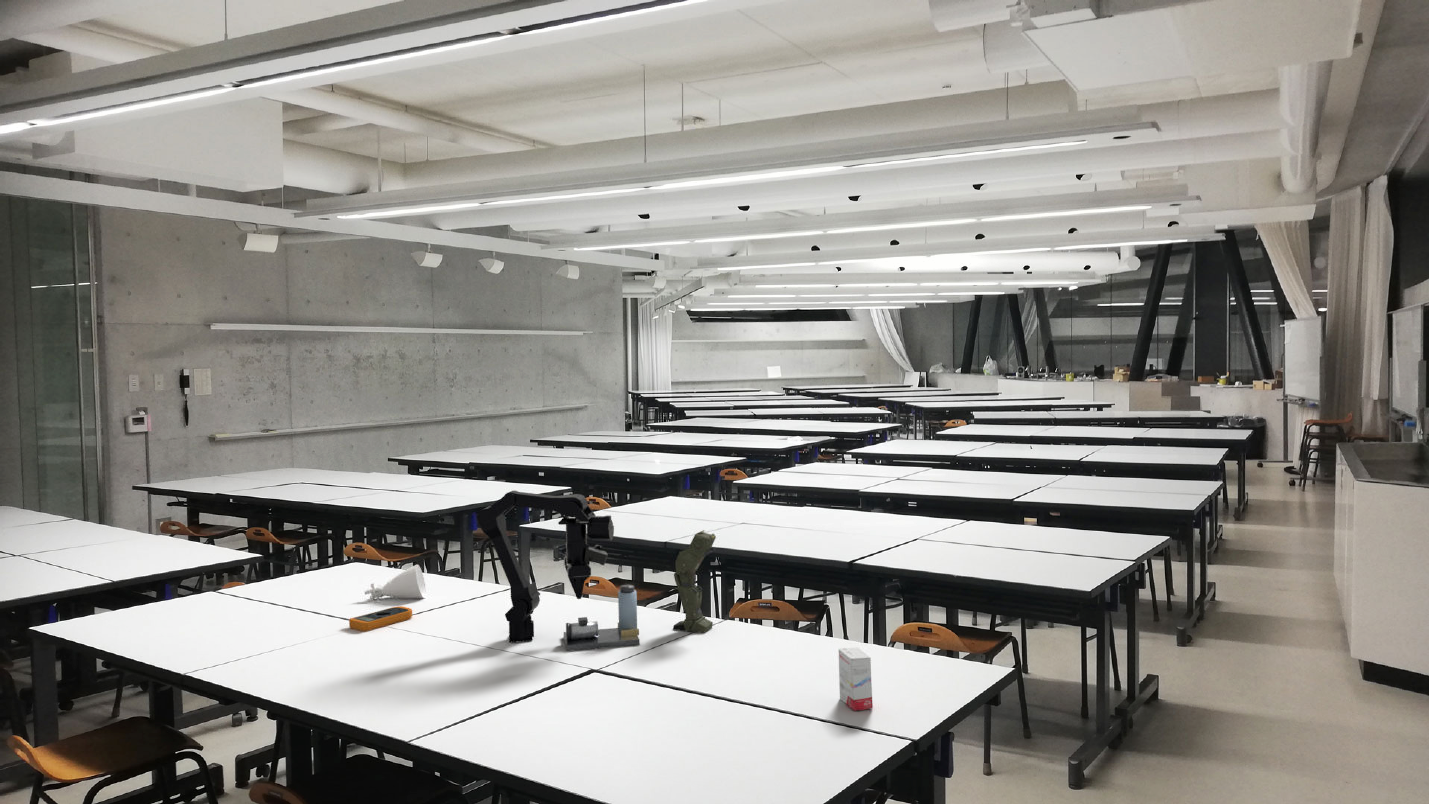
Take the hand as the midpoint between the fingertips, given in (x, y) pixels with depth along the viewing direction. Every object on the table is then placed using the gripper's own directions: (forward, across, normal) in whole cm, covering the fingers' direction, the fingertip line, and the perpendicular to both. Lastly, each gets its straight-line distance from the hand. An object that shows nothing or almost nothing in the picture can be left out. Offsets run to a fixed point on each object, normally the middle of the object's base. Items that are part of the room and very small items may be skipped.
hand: (577, 594), depth 262 cm
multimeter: (+13, +35, +57) cm, 68 cm away
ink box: (+14, -66, -57) cm, 88 cm away
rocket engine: (+13, +66, +56) cm, 87 cm away
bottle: (+12, 0, -14) cm, 18 cm away
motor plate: (+13, -2, -6) cm, 15 cm away
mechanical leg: (+13, +2, -34) cm, 37 cm away
